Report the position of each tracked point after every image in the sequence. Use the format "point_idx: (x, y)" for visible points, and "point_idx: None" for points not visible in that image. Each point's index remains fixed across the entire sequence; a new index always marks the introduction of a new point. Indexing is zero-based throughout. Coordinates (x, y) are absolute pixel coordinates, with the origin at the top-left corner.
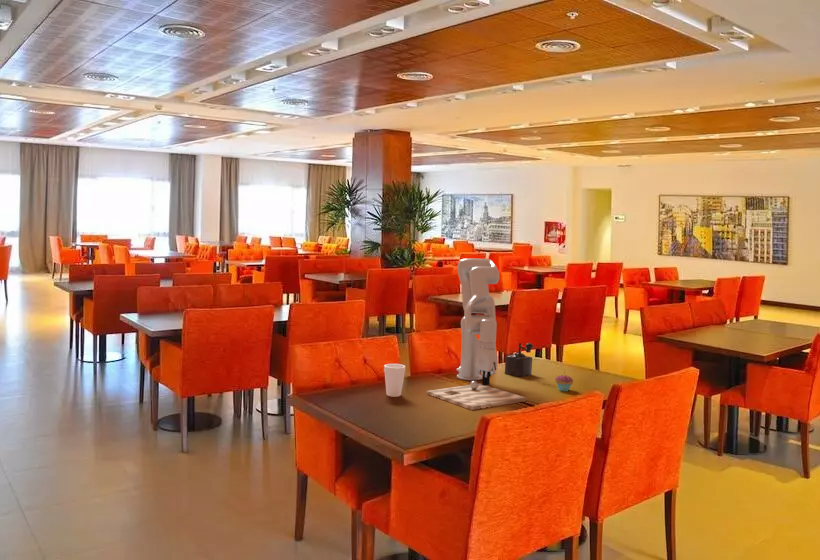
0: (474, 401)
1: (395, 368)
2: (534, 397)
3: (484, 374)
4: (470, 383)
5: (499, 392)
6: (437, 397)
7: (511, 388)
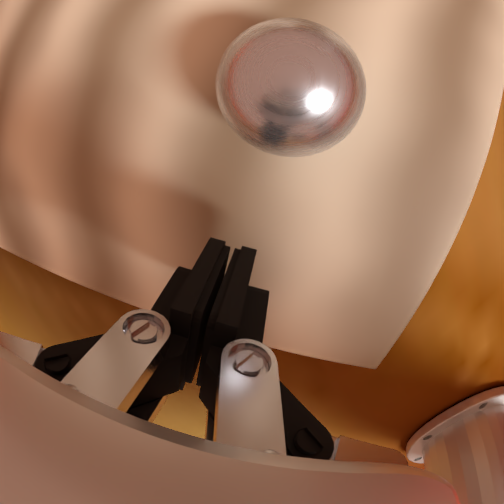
0: None
1: None
2: (14, 310)
3: (214, 387)
4: (333, 31)
5: (59, 211)
6: None
7: (184, 409)
